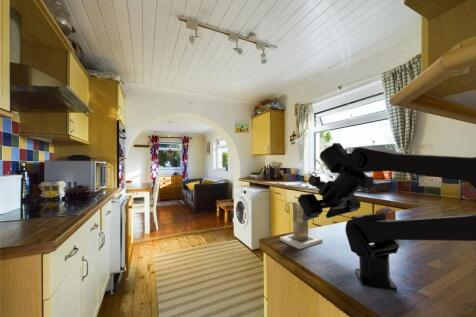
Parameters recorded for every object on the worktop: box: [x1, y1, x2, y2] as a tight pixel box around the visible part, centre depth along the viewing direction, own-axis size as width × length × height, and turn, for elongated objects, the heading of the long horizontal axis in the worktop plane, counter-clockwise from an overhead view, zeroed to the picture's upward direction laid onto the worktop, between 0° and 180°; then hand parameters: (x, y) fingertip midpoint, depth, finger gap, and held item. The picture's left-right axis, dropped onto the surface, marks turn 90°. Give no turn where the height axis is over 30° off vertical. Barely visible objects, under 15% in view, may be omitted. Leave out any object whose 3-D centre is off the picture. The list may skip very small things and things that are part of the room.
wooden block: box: [292, 201, 309, 240], centre depth 70 cm, size 4×4×12 cm
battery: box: [375, 206, 397, 220], centre depth 75 cm, size 4×7×10 cm, turn 127°
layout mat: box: [279, 233, 324, 250], centre depth 70 cm, size 11×9×1 cm
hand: (315, 218), depth 64 cm, fingers open, 9 cm apart
